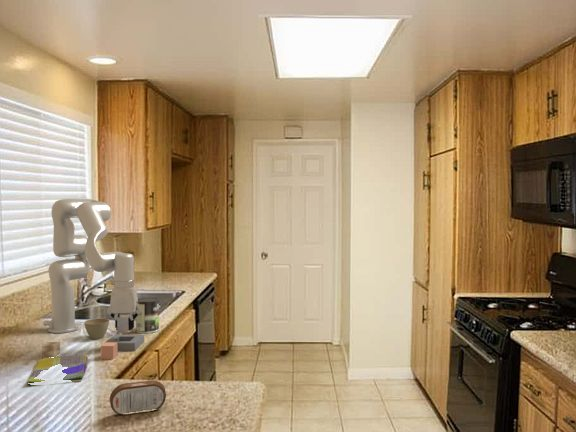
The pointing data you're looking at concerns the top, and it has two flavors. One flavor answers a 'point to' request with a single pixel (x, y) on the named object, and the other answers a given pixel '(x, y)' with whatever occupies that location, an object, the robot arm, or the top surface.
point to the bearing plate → (127, 342)
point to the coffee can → (148, 315)
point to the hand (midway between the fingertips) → (124, 329)
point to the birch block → (50, 349)
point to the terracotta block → (109, 350)
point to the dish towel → (73, 362)
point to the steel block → (123, 324)
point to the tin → (137, 396)
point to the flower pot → (96, 327)
